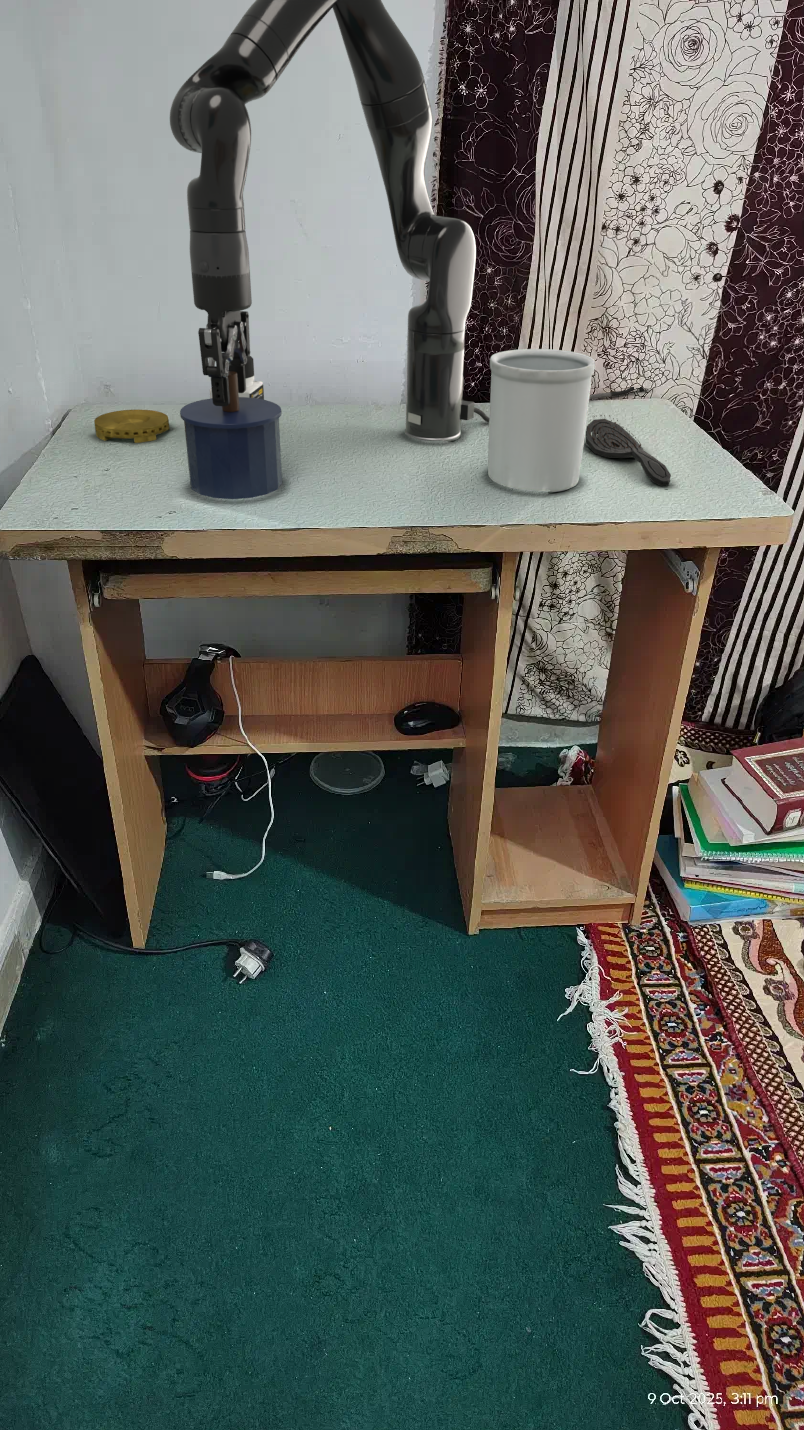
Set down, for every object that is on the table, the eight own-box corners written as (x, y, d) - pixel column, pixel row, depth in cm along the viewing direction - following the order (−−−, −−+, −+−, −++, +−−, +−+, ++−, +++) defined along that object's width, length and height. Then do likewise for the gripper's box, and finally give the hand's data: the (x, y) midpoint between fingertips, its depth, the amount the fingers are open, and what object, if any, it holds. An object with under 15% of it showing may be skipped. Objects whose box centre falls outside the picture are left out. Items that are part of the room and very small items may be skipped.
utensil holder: (466, 469, 152) (472, 351, 143) (549, 459, 157) (560, 344, 148) (512, 500, 141) (522, 374, 131) (600, 488, 146) (616, 366, 137)
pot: (228, 467, 151) (223, 397, 145) (298, 482, 146) (296, 410, 140) (172, 491, 141) (164, 418, 136) (244, 509, 136) (239, 433, 130)
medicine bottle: (252, 435, 165) (248, 361, 159) (212, 431, 166) (206, 358, 160) (265, 423, 171) (262, 351, 165) (226, 420, 172) (221, 348, 166)
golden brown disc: (180, 425, 169) (178, 412, 168) (153, 445, 159) (151, 432, 158) (114, 420, 171) (112, 407, 170) (83, 440, 161) (81, 427, 160)
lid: (223, 400, 146) (220, 357, 143) (301, 414, 141) (299, 370, 137) (159, 422, 136) (154, 376, 133) (240, 439, 130) (237, 391, 127)
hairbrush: (643, 470, 145) (577, 414, 164) (638, 493, 147) (574, 436, 166) (694, 466, 146) (623, 412, 166) (689, 490, 149) (619, 434, 168)
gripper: (230, 278, 121) (240, 414, 130) (264, 262, 133) (270, 387, 142) (172, 275, 122) (186, 411, 131) (211, 259, 134) (220, 384, 143)
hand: (230, 398), depth 137 cm, fingers open, 6 cm apart
